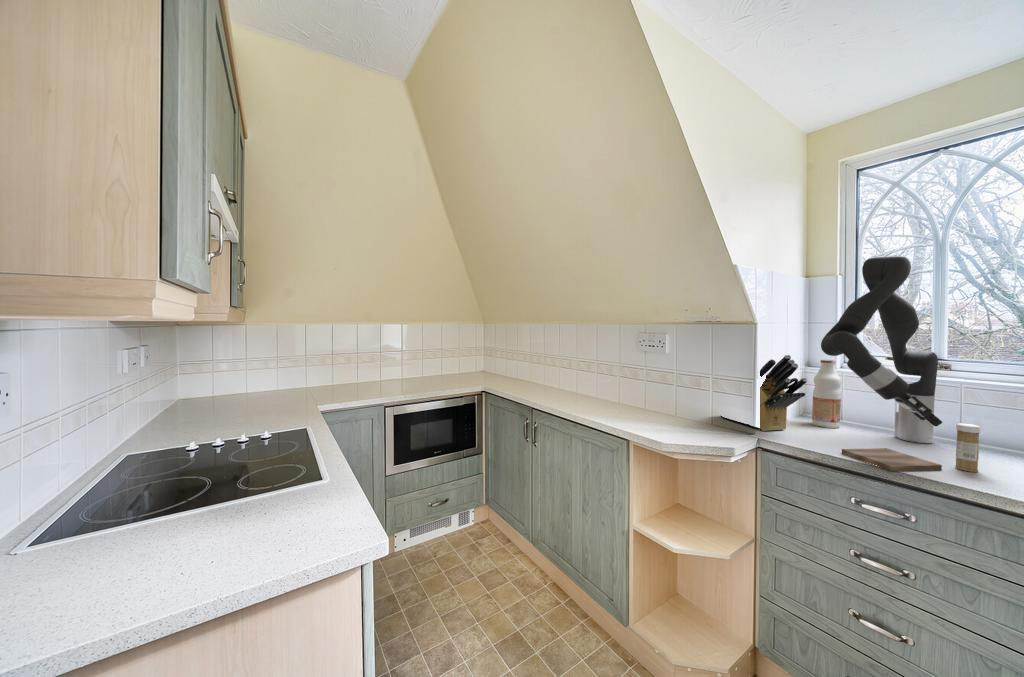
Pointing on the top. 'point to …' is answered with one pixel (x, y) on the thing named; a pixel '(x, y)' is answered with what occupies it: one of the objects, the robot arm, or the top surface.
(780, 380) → the knife block
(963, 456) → the sprinkles bottle
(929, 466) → the walnut board
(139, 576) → the top surface
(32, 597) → the top surface
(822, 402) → the fruit juice
